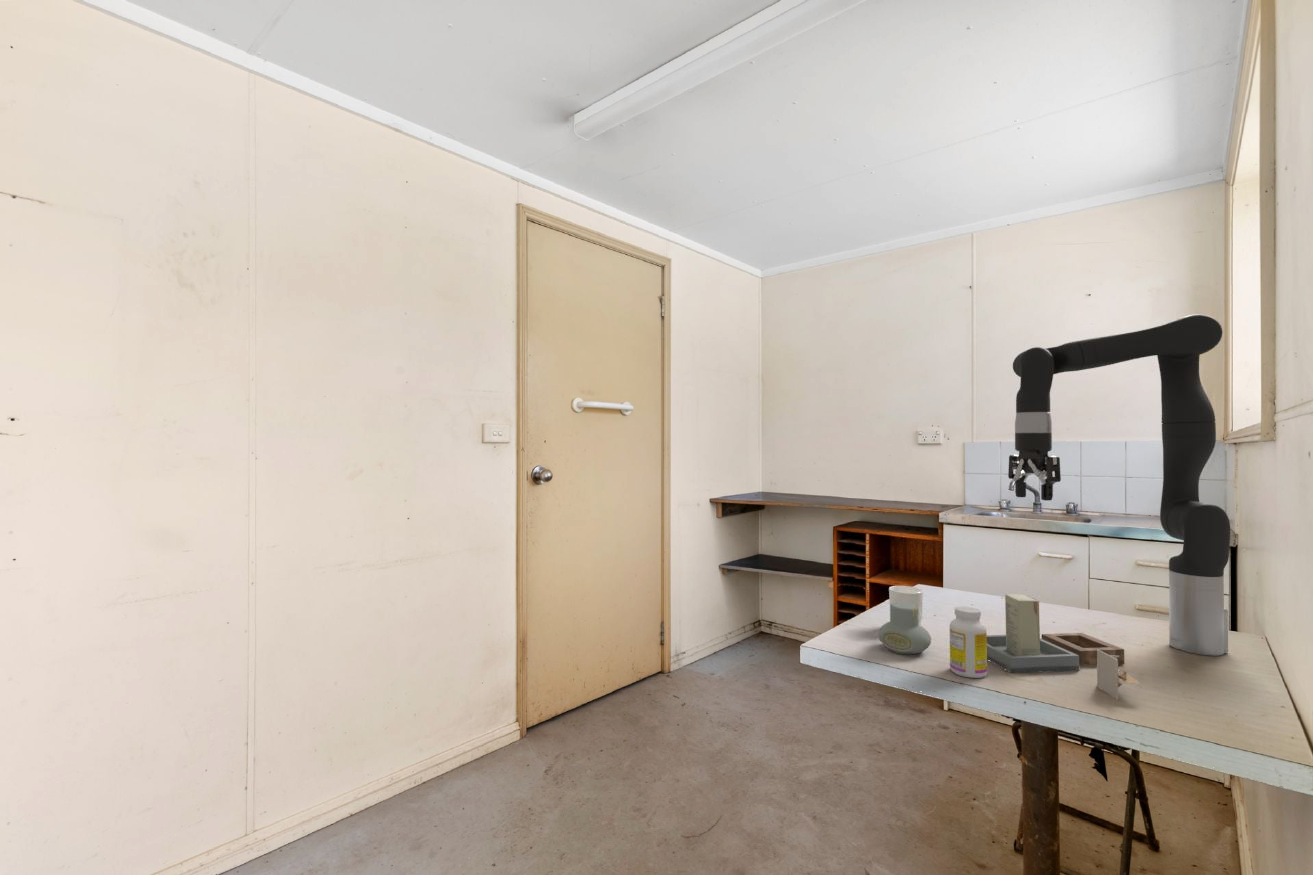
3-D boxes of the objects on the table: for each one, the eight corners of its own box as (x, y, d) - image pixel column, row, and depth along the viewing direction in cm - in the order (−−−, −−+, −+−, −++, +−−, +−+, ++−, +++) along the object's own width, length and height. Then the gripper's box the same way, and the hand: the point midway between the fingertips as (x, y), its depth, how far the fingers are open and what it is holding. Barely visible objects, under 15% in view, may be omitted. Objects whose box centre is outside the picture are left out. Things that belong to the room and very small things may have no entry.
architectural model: (1115, 688, 114) (1115, 649, 114) (1141, 704, 107) (1141, 662, 107) (1096, 688, 114) (1096, 649, 114) (1121, 703, 107) (1121, 662, 107)
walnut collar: (1082, 646, 137) (1082, 632, 137) (1124, 663, 126) (1124, 649, 126) (1041, 647, 136) (1041, 634, 136) (1080, 665, 125) (1080, 651, 125)
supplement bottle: (985, 670, 122) (985, 607, 123) (988, 681, 116) (988, 615, 117) (949, 664, 125) (949, 603, 125) (950, 676, 119) (950, 611, 119)
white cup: (925, 628, 150) (925, 588, 150) (920, 636, 143) (920, 594, 144) (892, 623, 154) (892, 584, 154) (886, 631, 148) (885, 590, 148)
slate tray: (1029, 647, 136) (1029, 633, 136) (1079, 670, 122) (1079, 655, 122) (967, 649, 135) (967, 635, 135) (1010, 673, 121) (1010, 658, 121)
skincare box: (1041, 659, 125) (1041, 601, 125) (1019, 659, 126) (1019, 600, 126) (1025, 649, 132) (1025, 593, 132) (1004, 648, 132) (1004, 593, 132)
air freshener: (936, 651, 133) (936, 606, 133) (922, 661, 127) (922, 614, 127) (887, 640, 141) (887, 597, 141) (872, 649, 135) (872, 604, 135)
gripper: (1070, 431, 137) (1071, 501, 137) (1026, 432, 152) (1026, 496, 152) (1040, 430, 137) (1040, 501, 137) (998, 432, 151) (998, 496, 151)
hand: (1033, 498), depth 144 cm, fingers open, 8 cm apart
